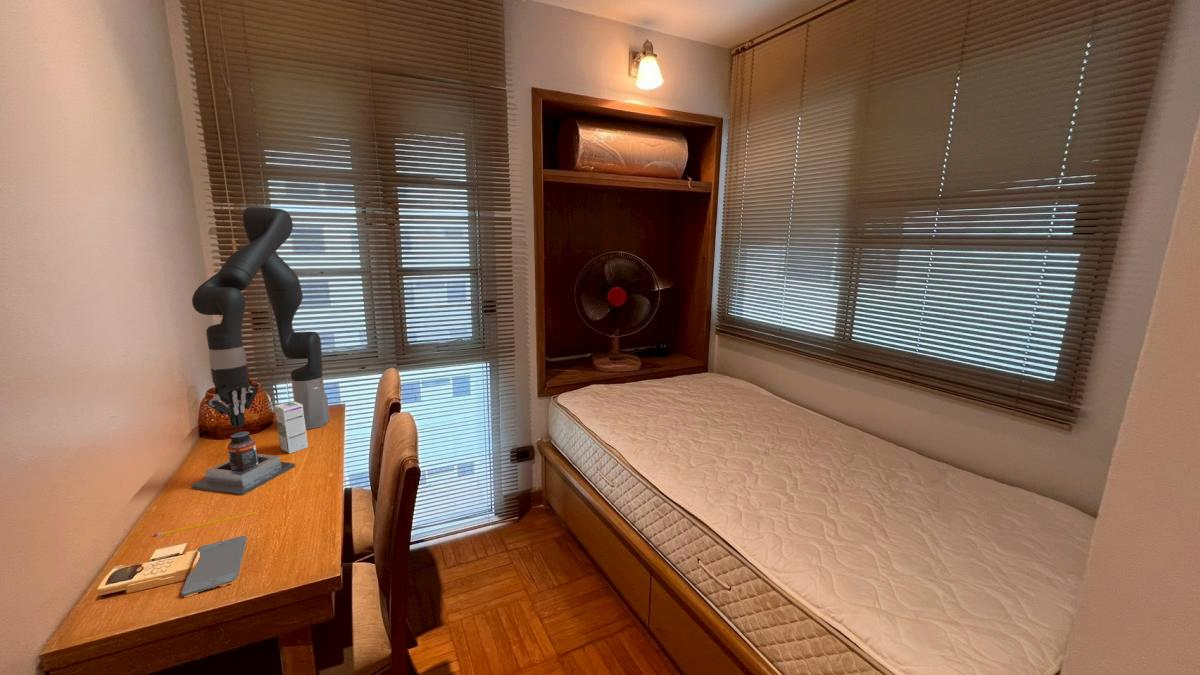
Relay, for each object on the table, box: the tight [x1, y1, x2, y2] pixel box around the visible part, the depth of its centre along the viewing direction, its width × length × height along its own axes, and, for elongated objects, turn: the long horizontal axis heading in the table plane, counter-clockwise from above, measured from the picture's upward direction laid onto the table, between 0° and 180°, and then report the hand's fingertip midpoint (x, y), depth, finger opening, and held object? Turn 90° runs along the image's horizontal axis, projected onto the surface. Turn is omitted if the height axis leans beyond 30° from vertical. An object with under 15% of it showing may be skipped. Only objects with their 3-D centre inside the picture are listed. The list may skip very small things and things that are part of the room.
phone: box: [181, 535, 248, 597], centre depth 93 cm, size 8×16×1 cm, turn 31°
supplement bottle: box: [227, 431, 258, 472], centre depth 127 cm, size 6×6×11 cm
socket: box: [190, 453, 296, 496], centre depth 127 cm, size 16×16×4 cm
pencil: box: [152, 511, 258, 538], centre depth 106 cm, size 1×18×1 cm, turn 120°
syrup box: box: [274, 400, 309, 454], centre depth 144 cm, size 6×6×14 cm
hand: (238, 426), depth 125 cm, fingers closed
